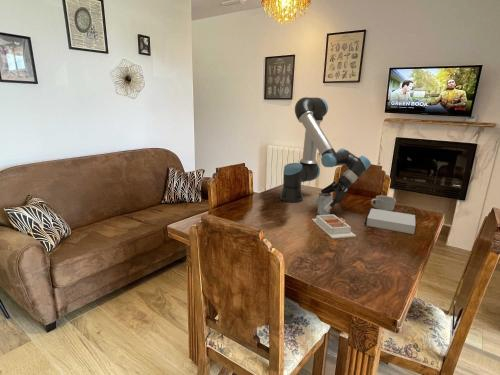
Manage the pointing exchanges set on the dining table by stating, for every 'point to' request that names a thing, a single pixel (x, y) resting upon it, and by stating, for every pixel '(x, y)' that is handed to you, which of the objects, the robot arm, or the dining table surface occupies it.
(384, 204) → the teacup
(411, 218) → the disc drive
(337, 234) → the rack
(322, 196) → the panel
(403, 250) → the dining table surface
